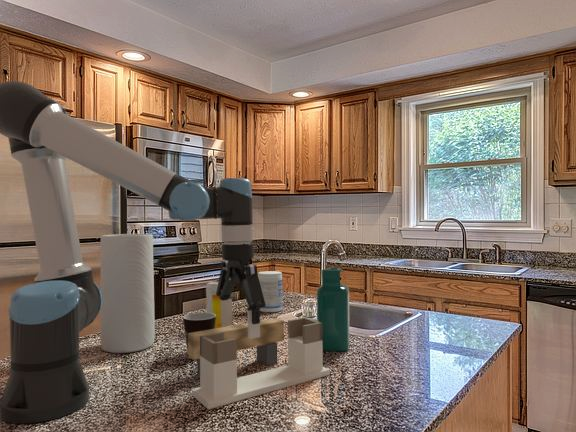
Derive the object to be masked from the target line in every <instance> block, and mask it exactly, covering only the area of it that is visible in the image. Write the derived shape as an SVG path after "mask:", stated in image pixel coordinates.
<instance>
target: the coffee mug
mask: <svg viewBox="0 0 576 432" xmlns="http://www.w3.org/2000/svg"><path fill="white" fill-rule="evenodd" d="M182 319H183V328H184V337H185V345H186V351H187V354H188V333H192V332H198V331H204V330H210V329H215V320H216V315H215V314H213V313H206V312H195V313H193V312H191V313H187V314H186V315H183V316H182Z"/></svg>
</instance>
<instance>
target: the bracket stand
mask: <svg viewBox="0 0 576 432" xmlns="http://www.w3.org/2000/svg"><path fill="white" fill-rule="evenodd" d="M237 351H238V350H237V339H235V338H234V339H229V340H224V333H223V332H220V333H214V334H209V335H203V336H200V376H199V378H200V379H199V380H200V382H199V383H200V385H199V387H195V388H192V389H191V395H192V396H193V397H194V399H196V400H197V401H198V403H200V404H202V406H204V407H205V408H206V409H208V410H212V409H215V408H218V407H222V406H225V405H228V404H232V403H236V402H238V401H239V402H240V401H243V400H247V399H250V398H253V397H256V396H260V395H264V394H268V393H271V392H274V391H278V390H282V389H285V388H288V387H291V386H295V385H299V384H302V383H306V382H309V381H312V380H315V379H316V380H317V379H319V378H320V379H321V378H323V377H327V376H330V374H331V373H330V372H331V371H330V369H329V368H327V367H325V366H324V365H323V361H324V360H323V359H324V358H323V357H324V356H323V353H324V352H323V351H324V350H323V342H322V323H321V322H318V321H317V320H314V319H312V318H308V317H305V316H304V317H299V318H294V319H293V318H292V319H289V320H287V352H288V353H287V356H288V359H287V361H288V364H287V365H284V366H279V367H276V368H271V369H268V370H263V371H260V372H255V373H252V374H247V375H244V376H239V377H238V363H237V362H238V358H237V357H238V352H237Z"/></svg>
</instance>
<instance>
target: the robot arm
mask: <svg viewBox="0 0 576 432" xmlns="http://www.w3.org/2000/svg"><path fill="white" fill-rule="evenodd" d="M0 135H1V136H4V137H6V138H8V144H9V148H10V154H11V157H12V158H13V159H15V160H16V161H17V162H19V164H20V165H21V169H22V174H23V179H24V180H23V181H24V185H25V190H26V196H27V197H26V198H27V202H28V208H29V213H30V218H31V225H32V229H33V234H34V240H35V247H36V251H37V252H36V253H37V257H38V263H39V268H40V270H39V272H38V273H37V275H36V276H35V278H34V280H33V281H34V283H30V284H27V285H23V286H21V287H20V288H18V289H16V290H14V292H12V294H11V296H10V305H9V309H8V316H9V339H10V340H9V344H10V345H9V346H10V347H9V348H10V350H9V351H10V352H9V353H10V355H9V356H10V372H9V375H8V379H7V381H6V385H5V388H4V390H3V392H2V396H1V399H0V419H1V420H2V421H4V422H6V423H10V424H34V423H42V422H47V421H51V420H54V419H60V418H62V417H65V416H67V415H70V414H72V413H74V412H76V411H77V410H79V409H81V408H82V407H84V406H85V405H87V403H88V402H89V400H90V385H89V382H88V380H87V378H86V375H85V372H84V370H83V366H82V365H81V362H80V332H81V331H82V330H84V329H85V328H87V327H88V326H89V325H91V324H92V323H93V322H94V321H95V320H96V318H97V317H98V315H99V314H100V309H101V306H102V294H101V291H100V287H99V286H98V284H97V283H96V282H95V281H94V276H93V269H92V267H91V266H88V265H87V264H85V262H83V256H82V255H83V254H82V250H81V244H80V237H79V232H78V229H77V227H78V226H77V222H76V216H75V211H74V205H73V199H72V194H71V189H70V182H69V176H68V170H67V166H66V159H68V160H70V161H72V162H74V163H76V164H78V165H79V166H82V167H84V168H86V169H87V170H90V171H92V172H94V173H96V174H97V175H99V176H101V177H102V178H105V179H107V180H108V181H111V182H113V183H115V184H116V185H118V186H120V187H122V188H125V189H126V190H128V191H130V192H132V193H134V194H136V195H138V196H140V197H142V198H144V199H146V200H147V201H150V202H151V203H153V204H155V205H158V207H161V208H162V209H164V210H166V211H168V215H169V217H170V219H171V220H180V221H187V222H191V221H193V222H194V221H197V220H212V219H213V220H217V219H220V221H221V222H220V223H221V225H220V231H221V233H220V234H221V235H220V236H221V239H220V240H221V242H222V243H223V244H222V245H221V257H222V260H223V261H221V262H220V273H219V279H218V281H217V282H218V287H217V292H216V295H217V296H219V298H220V300H221V322H222V327H225V326H226V327H228V326H233V300H232V299H233V296H232V294H233V291H234V289H235V287H236V284H237V285H238V286H240V287H241V290H242V292H243V294H244V298H245V300H246V303H247V305H248V307H247V308H246V311H247V323H248V338H249V339H252V338H257V337H260V321H261V315H260V313H261V311H260V309H261V308H262V307H265V305H266V304H265V300H264V297H263V293H262V289H261V285H260V282H259V278H258V273H259V272H258V266H257V264H250V260H252V259H254V244H253V241H254V228H253V223H254V222H253V221H254V220H253V192H252V182H251V181H250V180H249V179H248V178H243V177H233V178H229V177H228V178H222V179H221V180H220V182H219V186H215V187H204V186H202V185H201V184H200V183H198V182H195V181H192V180H190V179H188V178H186V177H184V176H181V175H179V174H178V173H176V172H175V171H173V170H171V169H169V168H167V167H165V166H163V165H161V164H160V163H158V162H156V161H154V160H153V159H150V158H148V157H147V156H145V155H143V154H141V153H140V152H137V151H135V150H133V149H131V148H130V147H128V146H126V145H124V144H122V143H121V142H119V141H116V140H115V139H114V138H111V137H109V136H107V135H105V134H104V133H102V132H100V131H99V130H97V129H95V128H92V127H91V126H89V125H87V124H85V123H84V122H82V121H80V120H77V119H76V118H74V117H72V116H70V115H68V113H67V111H66V110H65V109H64V108H63V106H62V105H61V104H60V103H58V102H57V101H56V100H54V99H53V98H51V97H49V96H47V95H45V93H44V92H41V90H39V89H38V88H36V87H35V86H33V85H31V84H28V83H25V82H22V81H17V80H9V81H3V82H0ZM251 242H252V243H251ZM221 290H222V291H221Z"/></svg>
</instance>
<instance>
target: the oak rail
mask: <svg viewBox="0 0 576 432" xmlns="http://www.w3.org/2000/svg"><path fill="white" fill-rule="evenodd" d="M220 332H223V333H224V340H229V339H234V338H235V339H237V351H242V350H245V349H251V348H257V346H261V345H266V344H271V343H275V342H276V343H281V342H284V341H285V321H284V320H282V319H280V318H276V317H275V318H268V319H262V320H260V337H257V338H252V339H249V338H248V322H246V323H240V324H235V325H230V326H226V327H222V328H216V329H210V330H204V331H198V332H192V333H188V353H187V357H190V358H191V359H192V360H197V359H199V358H200V336H203V335H209V334H214V333H220Z"/></svg>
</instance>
